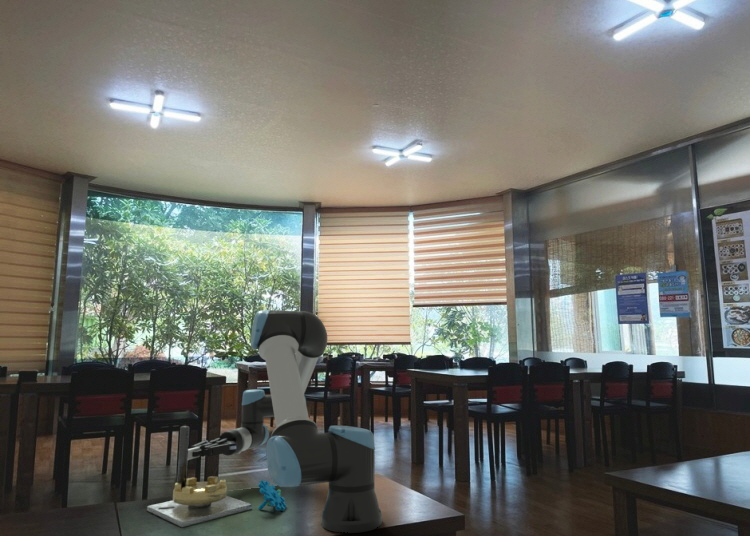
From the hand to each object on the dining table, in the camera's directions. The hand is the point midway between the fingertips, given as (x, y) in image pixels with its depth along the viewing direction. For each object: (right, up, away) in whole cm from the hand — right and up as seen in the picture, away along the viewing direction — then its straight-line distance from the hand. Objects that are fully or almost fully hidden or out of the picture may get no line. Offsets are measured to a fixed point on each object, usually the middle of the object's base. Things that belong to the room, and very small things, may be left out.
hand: (182, 456), depth 143 cm
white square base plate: (+7, -13, -5) cm, 15 cm away
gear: (+27, -13, -5) cm, 30 cm away
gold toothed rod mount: (+7, -10, -5) cm, 12 cm away
